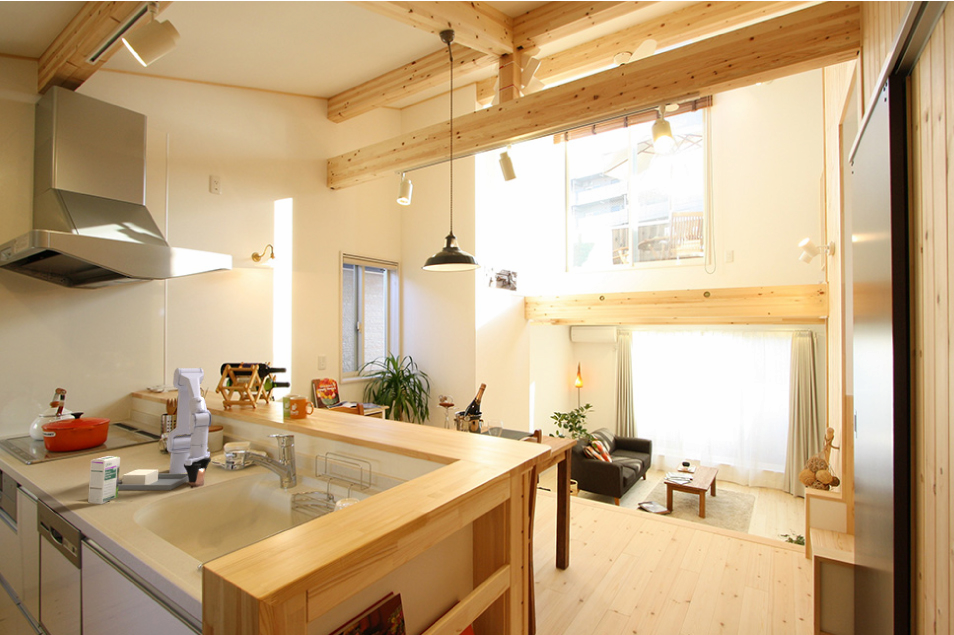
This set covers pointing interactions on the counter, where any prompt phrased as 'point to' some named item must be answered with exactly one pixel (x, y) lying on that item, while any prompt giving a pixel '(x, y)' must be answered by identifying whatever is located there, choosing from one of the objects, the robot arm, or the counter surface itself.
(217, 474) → the counter surface
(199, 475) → the tin can
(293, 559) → the counter surface
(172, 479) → the tray
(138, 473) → the plain cream box
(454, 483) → the counter surface
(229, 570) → the counter surface
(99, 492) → the syrup box
